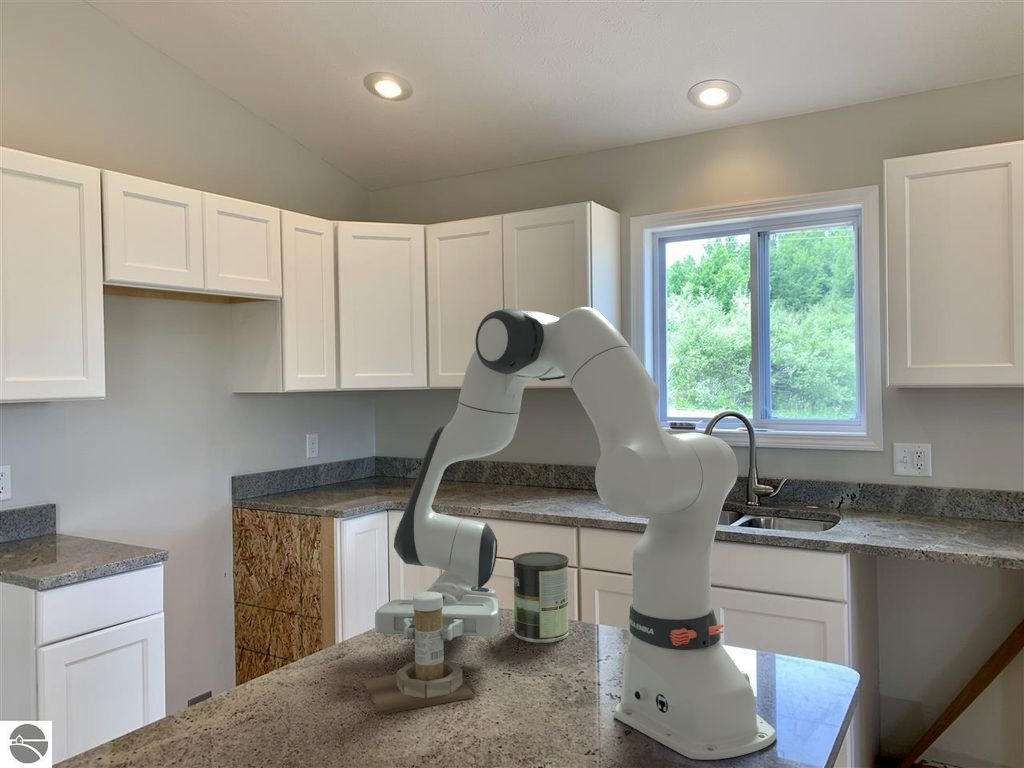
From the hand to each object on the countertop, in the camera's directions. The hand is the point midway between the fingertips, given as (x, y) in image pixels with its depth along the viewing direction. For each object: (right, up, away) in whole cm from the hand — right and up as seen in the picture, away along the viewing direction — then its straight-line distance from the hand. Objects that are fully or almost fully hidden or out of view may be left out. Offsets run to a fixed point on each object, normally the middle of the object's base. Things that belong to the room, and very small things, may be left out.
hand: (427, 634), depth 114 cm
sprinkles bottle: (0, -8, +1) cm, 8 cm away
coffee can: (+19, -8, +25) cm, 32 cm away
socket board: (-2, -9, 0) cm, 9 cm away
